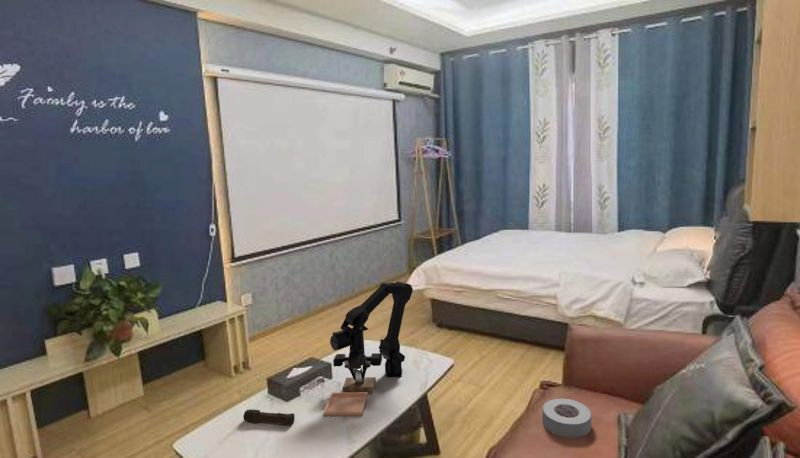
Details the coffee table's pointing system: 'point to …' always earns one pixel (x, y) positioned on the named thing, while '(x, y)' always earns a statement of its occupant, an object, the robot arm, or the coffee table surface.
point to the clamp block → (366, 387)
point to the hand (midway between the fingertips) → (359, 379)
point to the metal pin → (358, 376)
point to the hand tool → (268, 417)
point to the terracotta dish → (346, 404)
